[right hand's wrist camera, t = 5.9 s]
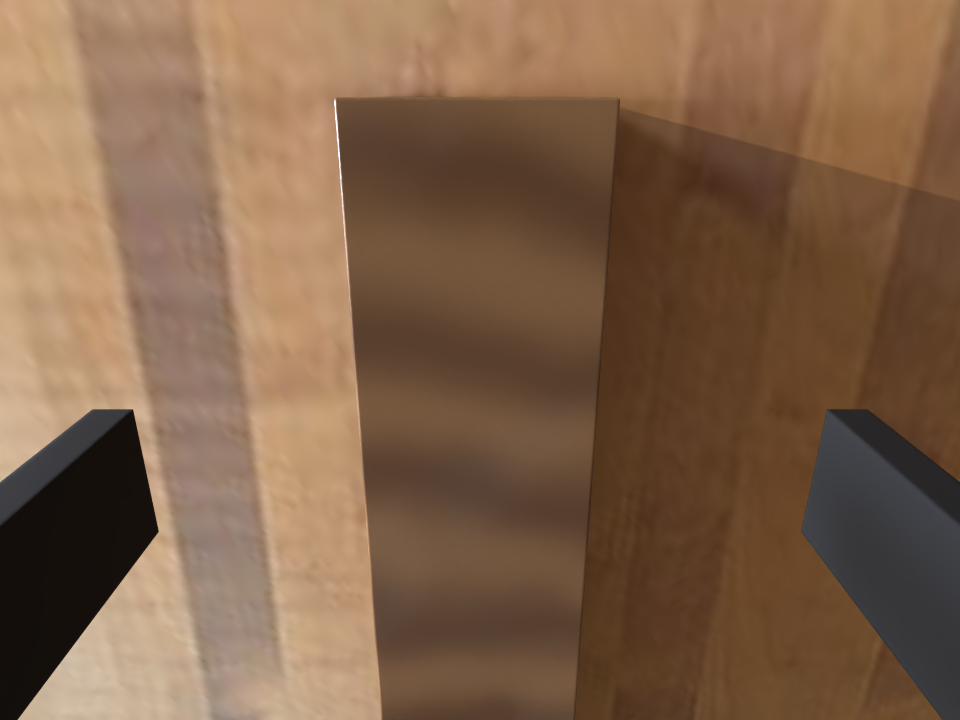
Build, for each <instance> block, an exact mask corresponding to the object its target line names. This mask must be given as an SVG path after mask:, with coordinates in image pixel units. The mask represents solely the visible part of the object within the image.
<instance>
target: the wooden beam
mask: <svg viewBox="0 0 960 720" xmlns="http://www.w3.org/2000/svg"><path fill="white" fill-rule="evenodd" d="M334 106H335V119H336V133H337V146H338V159H339V172H340V185H341V198H342V211H343V224H344V237H345V250H346V263H347V277H348V290H349V303H350V316H351V329H352V342H353V355H354V368H355V381H356V394H357V408H358V421H359V434H360V447H361V460H362V473H363V486H364V499H365V512H366V525H367V538H368V552H369V565H370V578H371V591H372V604H373V617H374V630H375V643H376V656H377V669H378V682H379V696H380V709H381V720H575V707H576V694H577V680H578V666H579V653H580V639H581V625H582V612H583V598H584V584H585V571H586V557H587V544H588V530H589V516H590V503H591V489H592V475H593V462H594V448H595V434H596V421H597V407H598V393H599V380H600V366H601V352H602V339H603V325H604V312H605V298H606V284H607V271H608V257H609V243H610V230H611V216H612V202H613V189H614V175H615V161H616V148H617V134H618V121H619V107H620V100H619V98H607V97H347V98H335V100H334Z"/></svg>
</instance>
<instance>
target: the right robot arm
mask: <svg viewBox="0 0 960 720" xmlns="http://www.w3.org/2000/svg"><path fill="white" fill-rule="evenodd" d="M158 532H159V531H158V526H157V521H156V516H155V512H154V507H153V502H152V497H151V493H150V488H149V483H148V478H147V474H146V469H145V464H144V459H143V455H142V450H141V445H140V440H139V436H138V431H137V426H136V421H135V417H134V412H133V409H92V410H91V411H90V412H89V413H87V414H86V415H85V416H84V417H82V418H81V419H80V420H79V421H77V422H76V423H75V424H73V425H72V426H71V427H70V428H68V429H67V430H66V431H65V432H63V433H62V434H61V435H60V436H58V437H57V438H56V439H54V440H53V441H52V442H51V443H49V444H48V445H47V446H46V447H44V448H43V449H42V450H41V451H39V452H38V453H37V454H35V455H34V456H33V457H32V458H30V459H29V460H28V461H27V462H25V463H24V464H23V465H22V466H20V467H19V468H18V469H16V470H15V471H14V472H13V473H11V474H10V475H9V476H8V477H6V478H5V479H4V480H3V481H1V482H0V720H18V718H19V717H20V716H21V714H22V713H23V712H24V710H25V709H26V708H27V706H28V705H29V704H30V702H31V701H32V700H33V698H34V697H35V696H36V694H37V693H38V692H39V690H40V689H41V688H42V686H43V685H44V684H45V682H46V681H47V680H48V678H49V677H50V676H51V674H52V673H53V672H54V670H55V669H56V668H57V666H58V665H59V664H60V662H61V661H62V660H63V658H64V657H65V656H66V654H67V653H68V652H69V650H70V649H71V648H72V646H73V645H74V644H75V642H76V641H77V640H78V638H79V637H80V636H81V634H82V633H83V632H84V630H85V629H86V628H87V626H88V625H89V624H90V623H91V621H92V620H93V619H94V617H95V616H96V615H97V613H98V612H99V611H100V609H101V608H102V607H103V605H104V604H105V603H106V601H107V600H108V599H109V597H110V596H111V595H112V593H113V592H114V591H115V589H116V588H117V587H118V585H119V584H120V583H121V581H122V580H123V579H124V577H125V576H126V575H127V573H128V572H129V571H130V569H131V568H132V567H133V565H134V564H135V563H136V561H137V560H138V559H139V557H140V556H141V555H142V553H143V552H144V551H145V549H146V548H147V547H148V545H149V544H150V543H151V541H152V540H153V539H154V537H155V536H156V535H157V533H158ZM801 532H802V533H803V535H804V536H805V537H806V539H807V540H808V541H809V543H810V544H811V545H812V547H813V548H814V549H815V551H816V552H817V553H818V555H819V556H820V557H821V559H822V560H823V561H824V563H825V564H826V565H827V567H828V568H829V569H830V571H831V572H832V573H833V575H834V576H835V577H836V579H837V580H838V581H839V583H840V584H841V585H842V587H843V588H844V589H845V591H846V592H847V593H848V595H849V596H850V597H851V599H852V600H853V601H854V603H855V604H856V605H857V607H858V608H859V609H860V611H861V612H862V613H863V615H864V616H865V617H866V619H867V620H868V621H869V623H870V624H871V625H872V626H873V628H874V629H875V630H876V632H877V633H878V634H879V636H880V637H881V638H882V640H883V641H884V642H885V644H886V645H887V646H888V648H889V649H890V650H891V652H892V653H893V654H894V656H895V657H896V658H897V660H898V661H899V662H900V664H901V665H902V666H903V668H904V669H905V670H906V672H907V673H908V674H909V676H910V677H911V678H912V680H913V681H914V682H915V684H916V685H917V686H918V688H919V689H920V690H921V692H922V693H923V694H924V696H925V697H926V698H927V700H928V701H929V702H930V704H931V705H932V706H933V708H934V709H935V710H936V712H937V713H938V714H939V716H940V717H941V718H942V720H960V482H959V481H957V480H956V479H955V478H954V477H952V476H951V475H950V474H949V473H947V472H946V471H945V470H944V469H942V468H941V467H940V466H938V465H937V464H936V463H935V462H933V461H932V460H931V459H930V458H928V457H927V456H926V455H925V454H923V453H922V452H921V451H919V450H918V449H917V448H916V447H914V446H913V445H912V444H911V443H909V442H908V441H907V440H906V439H904V438H903V437H902V436H900V435H899V434H898V433H897V432H895V431H894V430H893V429H892V428H890V427H889V426H888V425H887V424H885V423H884V422H883V421H881V420H880V419H879V418H878V417H876V416H875V415H874V414H873V413H871V412H870V411H869V410H868V409H827V412H826V417H825V421H824V426H823V431H822V436H821V440H820V445H819V450H818V455H817V459H816V464H815V469H814V474H813V478H812V483H811V488H810V493H809V497H808V502H807V507H806V512H805V516H804V521H803V526H802V531H801Z"/></svg>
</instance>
